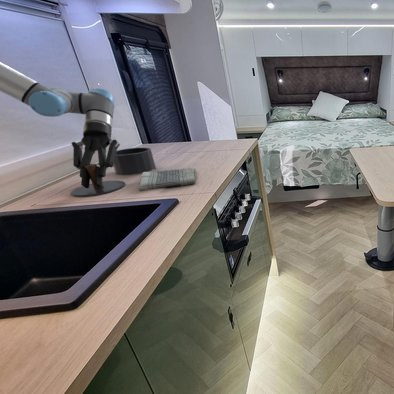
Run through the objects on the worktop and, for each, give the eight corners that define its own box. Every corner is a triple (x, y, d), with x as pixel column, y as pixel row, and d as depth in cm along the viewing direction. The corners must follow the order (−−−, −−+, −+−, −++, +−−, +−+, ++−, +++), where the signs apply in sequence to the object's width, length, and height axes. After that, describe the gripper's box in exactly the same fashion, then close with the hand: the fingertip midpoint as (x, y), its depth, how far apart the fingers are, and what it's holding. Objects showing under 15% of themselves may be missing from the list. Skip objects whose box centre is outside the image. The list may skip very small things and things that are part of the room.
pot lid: (60, 199, 93) (48, 172, 89) (91, 184, 106) (82, 160, 102) (109, 197, 94) (100, 170, 91) (134, 182, 108) (127, 158, 104)
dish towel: (197, 184, 105) (195, 176, 104) (138, 193, 97) (135, 184, 96) (196, 171, 120) (194, 163, 119) (145, 177, 113) (143, 169, 111)
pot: (108, 176, 114) (101, 155, 111) (128, 167, 127) (122, 148, 123) (145, 175, 116) (139, 154, 113) (161, 165, 128) (156, 146, 125)
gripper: (128, 132, 109) (125, 187, 101) (78, 134, 105) (69, 193, 97) (118, 119, 103) (113, 178, 94) (64, 121, 98) (53, 183, 90)
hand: (91, 185), depth 95 cm, fingers closed on pot lid, 3 cm apart
